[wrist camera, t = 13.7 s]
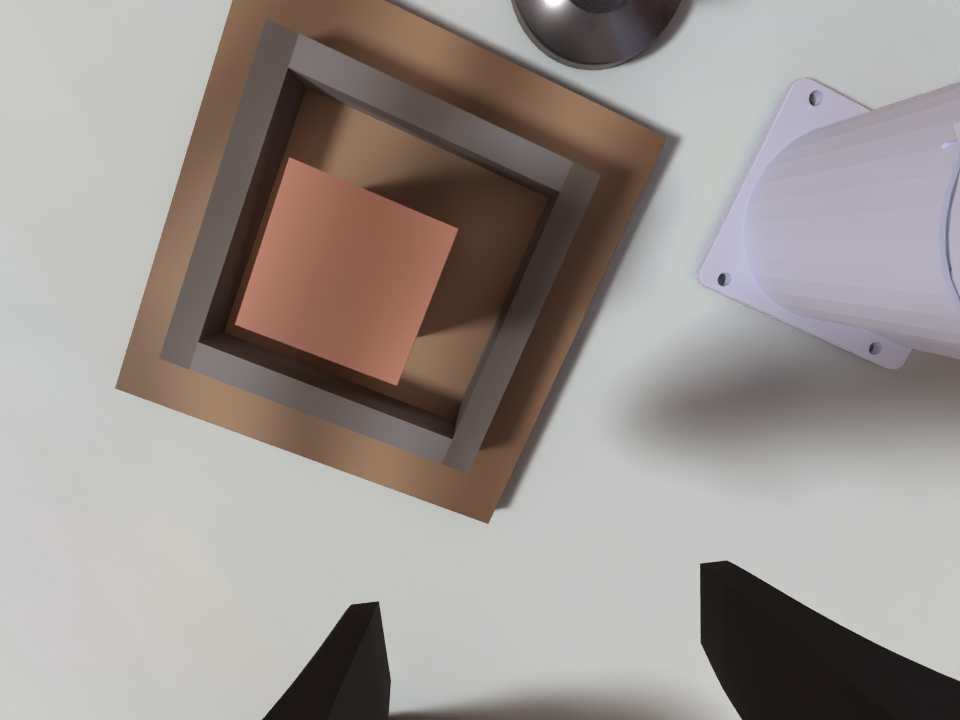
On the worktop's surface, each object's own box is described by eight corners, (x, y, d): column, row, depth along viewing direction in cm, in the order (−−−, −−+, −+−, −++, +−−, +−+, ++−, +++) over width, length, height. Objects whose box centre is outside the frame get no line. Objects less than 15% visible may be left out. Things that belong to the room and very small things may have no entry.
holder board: (656, 143, 20) (691, 125, 17) (486, 511, 22) (491, 551, 19) (263, -48, 18) (225, -106, 15) (131, 381, 20) (77, 403, 18)
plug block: (456, 235, 19) (458, 229, 12) (416, 337, 20) (397, 385, 13) (350, 190, 18) (289, 157, 12) (312, 297, 19) (234, 324, 12)
